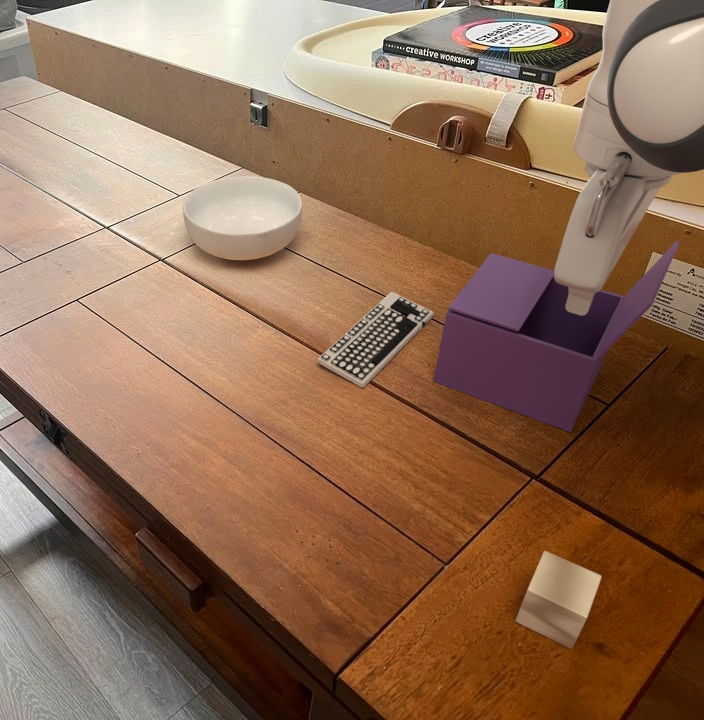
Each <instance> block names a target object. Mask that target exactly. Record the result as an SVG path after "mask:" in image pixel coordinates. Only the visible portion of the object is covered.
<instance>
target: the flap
mask: <svg viewBox="0 0 704 720" xmlns="http://www.w3.org/2000/svg"><path fill="white" fill-rule="evenodd" d="M680 243H681V242H680V241H678V240H676V241H675V242H674V243H673V244H672V245H671V246H670V247H669V248H668V249H667V250H666V251H665V253H664V254H662V256H661V257H660V258H659V259H657V261H656V262H655V263H654V264H653V265H652V266H651V267H650V268H649V269H648V270H647V271H646V272H645V273H644V275H642V276H641V278H640V279H639V280H638V281H637V282H636V283H635V284H634V285H632V287H631V288H630V289H629V290H628V291H627V293H626V295H625V296H626V297H625V300H624V302H623V304H622V306H621V308H620V310H619V312H618V314H617V316H616V318H615V320H614V322H613V324H612V326H611V328H610V330H609V332H608V335H607V337H606V339H605V341H604V343H603V345H602V347H601V349H600V351H599V353H598V356H600V357H601V356H602V355H603V354H604V353H605V352H606V351H607V350H608V351H609V349H610V348H611V347H612V346H613V345H614V344H615V343H616V342H617V341H618V340H619V339H620V338H621V337H622V336H623V335H624V334H625V333H626V332H627V331H629V329H630V328H631V327H632V326H633V325H634V324H635V323H637V321H639V319H641V318H642V316H643V315H645V313H647V312H648V311H649V309H650V308H651V307H652V306H653V305H654V303H655V300H656V298H657V296H658V294H659V291H660V289H661V286H662V284H663V282H664V280H665V277H666V275H667V273H668V270H669V268H670V266H671V263H672V262H673V259H674V256H675V254H676V252H677V249H678V247H679V245H680ZM608 351H607V352H608Z"/></svg>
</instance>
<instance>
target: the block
mask: <svg viewBox="0 0 704 720" xmlns="http://www.w3.org/2000/svg"><path fill="white" fill-rule="evenodd" d="M542 552H543V553H542V554H541V557H540V559H539V562H538V564H537V565H536V569H535V571H534V574H533V576H532V577H531V580H530V582H529V585H528V587H527V589H526V591H525V594H524V597H523V600H522V602H521V605H520V607H519V610H518V613H517V615H516V618H515V622H516V623H517V624H519V625H521V626H523V627H525V628H527V629H529V630H531V631H533V632H535V633H538V634H539V635H541V636H543V637H546V638H547V639H549V640H551V641H553V642H556V643H557V644H560V646H561V645H562V646H564V647H566V648H568V649H570V650H573V649H574V646H575V644H576V642H577V640H578V638H579V636H580V634H581V632H582V630H583V628H584V626H585V624H586V622H587V620H588V617H589V615H590V612H591V609H592V606H593V603H594V601H595V598H596V596H597V592H598V589H599V586H600V583H601V581H602V577H603V576H602V575H601V574H599V573H597V572H594V571H592V570H589V569H587V568H585V567H583V566H581V565H579V564H576V563H574V562H571V561H570V560H567V559H566V558H563V557H560V556H558V555H556V554H554V553H552V552H549V551H547V550H544V551H542Z"/></svg>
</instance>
